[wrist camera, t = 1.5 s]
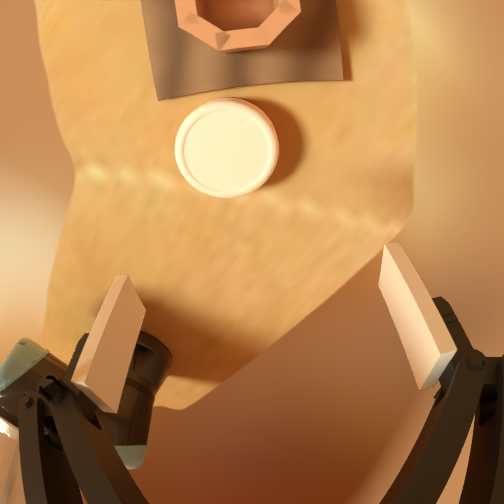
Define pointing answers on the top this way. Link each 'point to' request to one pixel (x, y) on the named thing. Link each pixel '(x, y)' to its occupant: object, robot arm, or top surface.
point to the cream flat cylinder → (227, 148)
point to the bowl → (236, 21)
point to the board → (241, 52)
